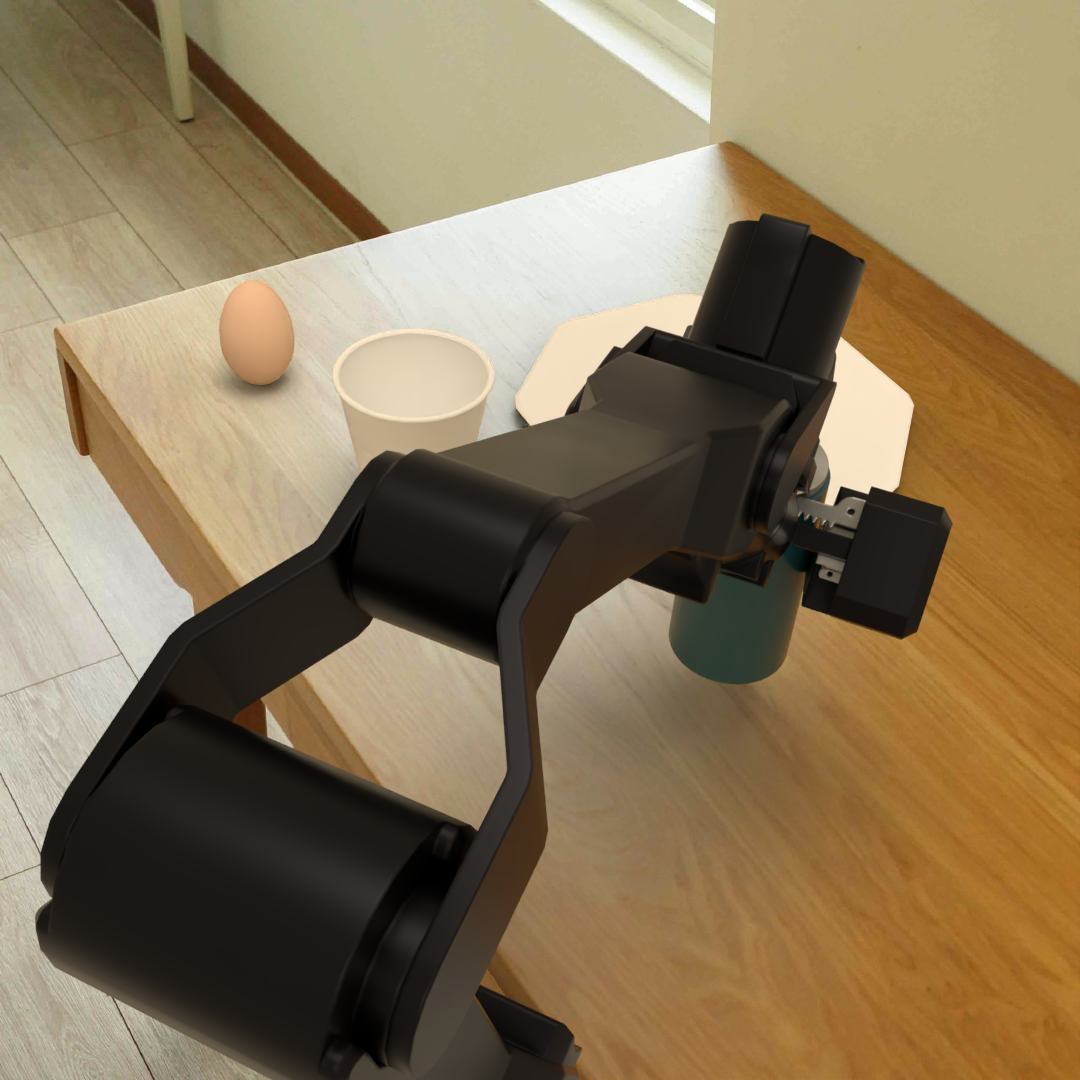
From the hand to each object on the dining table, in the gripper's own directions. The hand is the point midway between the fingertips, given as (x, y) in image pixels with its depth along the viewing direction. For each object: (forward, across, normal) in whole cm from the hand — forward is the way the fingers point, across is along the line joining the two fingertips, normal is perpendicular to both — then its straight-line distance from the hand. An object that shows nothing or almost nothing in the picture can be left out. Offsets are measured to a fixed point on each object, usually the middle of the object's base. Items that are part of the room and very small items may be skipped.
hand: (753, 537), depth 71 cm
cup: (+12, +23, +4) cm, 27 cm away
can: (+4, 0, +6) cm, 7 cm away
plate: (+26, +9, -10) cm, 29 cm away
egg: (+18, +40, -2) cm, 44 cm away
